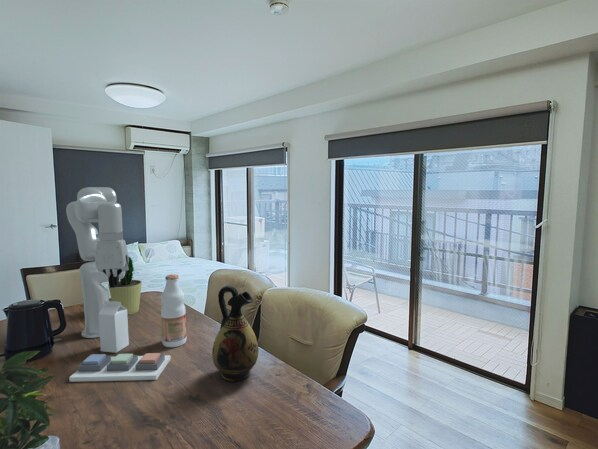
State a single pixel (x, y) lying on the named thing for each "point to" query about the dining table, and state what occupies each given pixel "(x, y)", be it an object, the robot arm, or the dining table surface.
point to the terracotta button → (150, 358)
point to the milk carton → (113, 327)
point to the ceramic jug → (234, 338)
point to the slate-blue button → (94, 359)
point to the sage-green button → (122, 359)
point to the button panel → (120, 370)
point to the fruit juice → (173, 313)
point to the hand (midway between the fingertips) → (114, 286)
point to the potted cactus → (127, 291)
